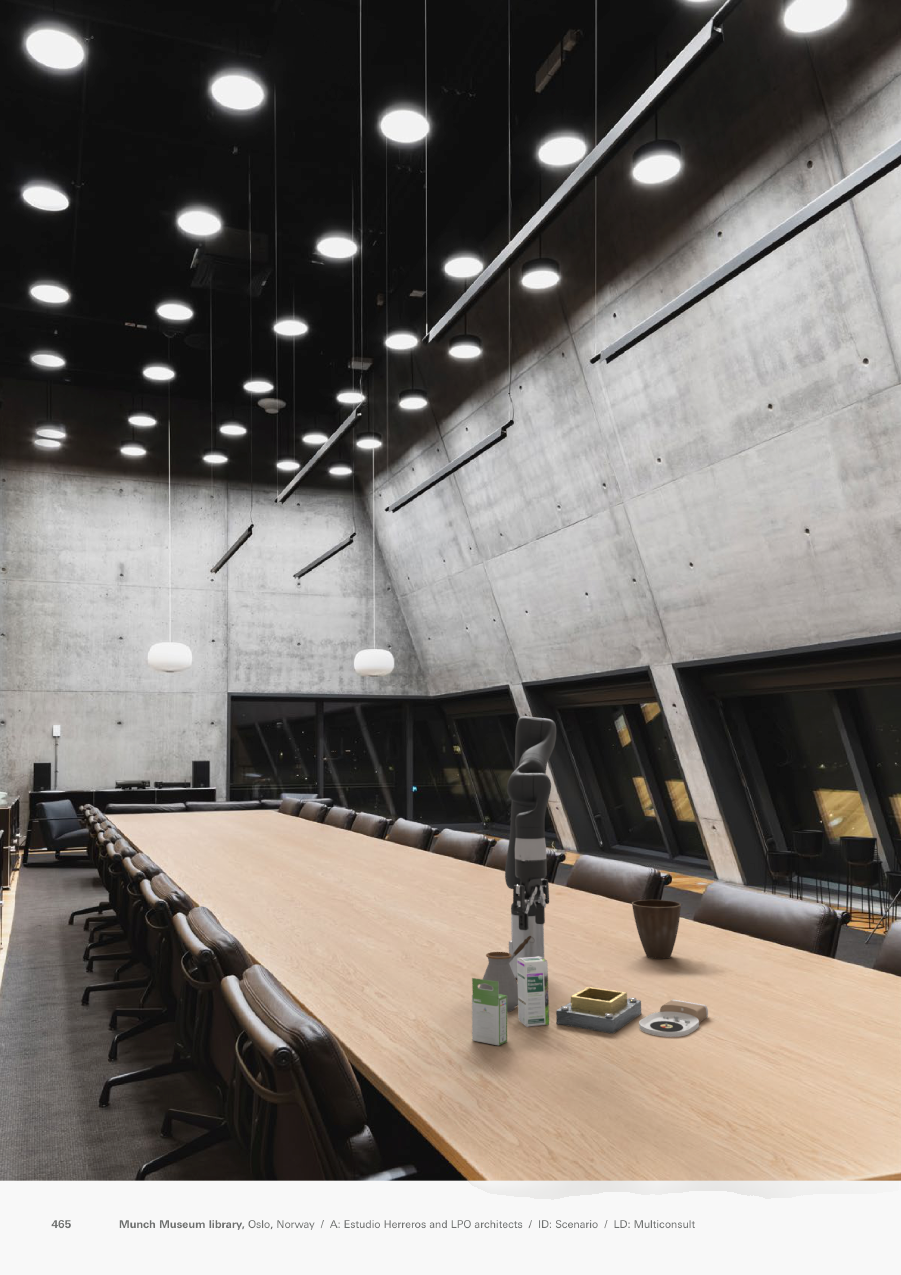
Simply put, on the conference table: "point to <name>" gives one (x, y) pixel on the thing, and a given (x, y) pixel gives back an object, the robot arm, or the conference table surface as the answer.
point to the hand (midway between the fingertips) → (532, 927)
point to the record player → (674, 1019)
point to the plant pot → (657, 926)
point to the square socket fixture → (599, 1010)
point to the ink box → (488, 1013)
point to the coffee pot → (504, 974)
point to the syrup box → (533, 991)
